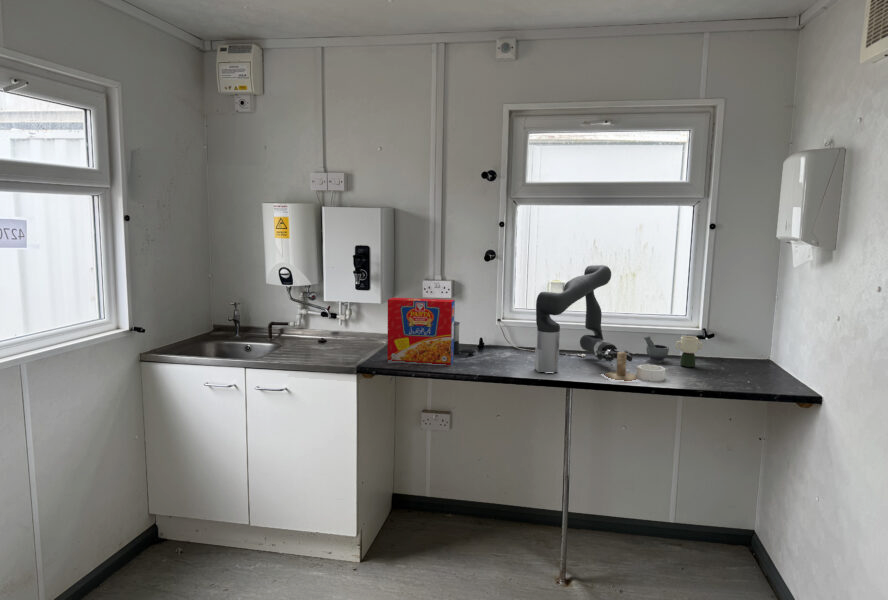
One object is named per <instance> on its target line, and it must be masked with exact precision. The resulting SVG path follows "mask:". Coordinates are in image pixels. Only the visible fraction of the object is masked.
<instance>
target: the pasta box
mask: <svg viewBox="0 0 888 600" xmlns="http://www.w3.org/2000/svg"><path fill="white" fill-rule="evenodd" d="M455 301H456V300H455V299H441V298H440V299H439V298H416V297H415V298H413V297H390V298H388V299H387V361H388V360H392V361H405V362H417V363H432V364H446V365H451V364H452V363H453V364H454V362H455V359H454V358H455V357H454V355H455V354H454V321H455V309H456V308H455V305H456V304H455ZM453 361H454V362H453ZM453 364H452V365H453ZM452 365H451V366H452Z"/></svg>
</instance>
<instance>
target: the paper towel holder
mask: <svg viewBox="0 0 888 600" xmlns="http://www.w3.org/2000/svg"><path fill="white" fill-rule="evenodd" d="M626 354H627V353H625V352H618V355H617V359H616V371H607V372H605V373H606V374H605V376H606V377H608V378H611V379H615V380H624V381H632V380H636V379H637V378H638V377H637V374H636V375H635V374H634V373H631V372H626V371H627V370H626V369H627V360H626Z"/></svg>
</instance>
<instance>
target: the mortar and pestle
mask: <svg viewBox="0 0 888 600" xmlns="http://www.w3.org/2000/svg"><path fill="white" fill-rule="evenodd" d="M643 339H644V340H645V342H646V354H647V356H648V357H649V358H650V359H649V362H650V361H651V363H654V362H656V363H655V364H662V363H661V362H665V360H664V359H666V358H667V356H668V355H669V351H670V347H669V346H667V345H662V344H654V341H653V340H652V338H651V336H650V335H649V334H647V335H645V336H644V337H643Z"/></svg>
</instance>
